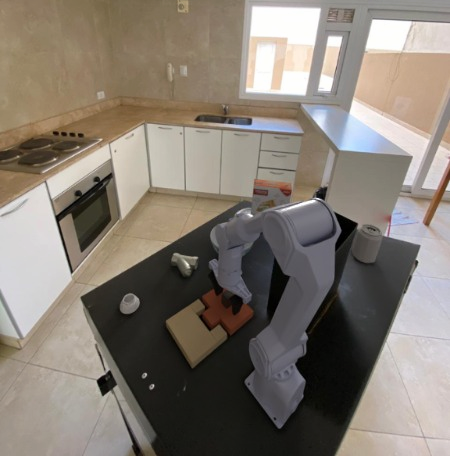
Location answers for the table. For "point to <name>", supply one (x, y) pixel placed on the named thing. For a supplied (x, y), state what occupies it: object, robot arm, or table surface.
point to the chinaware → (216, 246)
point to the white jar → (129, 304)
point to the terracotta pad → (224, 311)
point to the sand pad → (194, 333)
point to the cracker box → (269, 195)
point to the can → (367, 243)
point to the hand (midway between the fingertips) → (227, 302)
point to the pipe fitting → (184, 263)
